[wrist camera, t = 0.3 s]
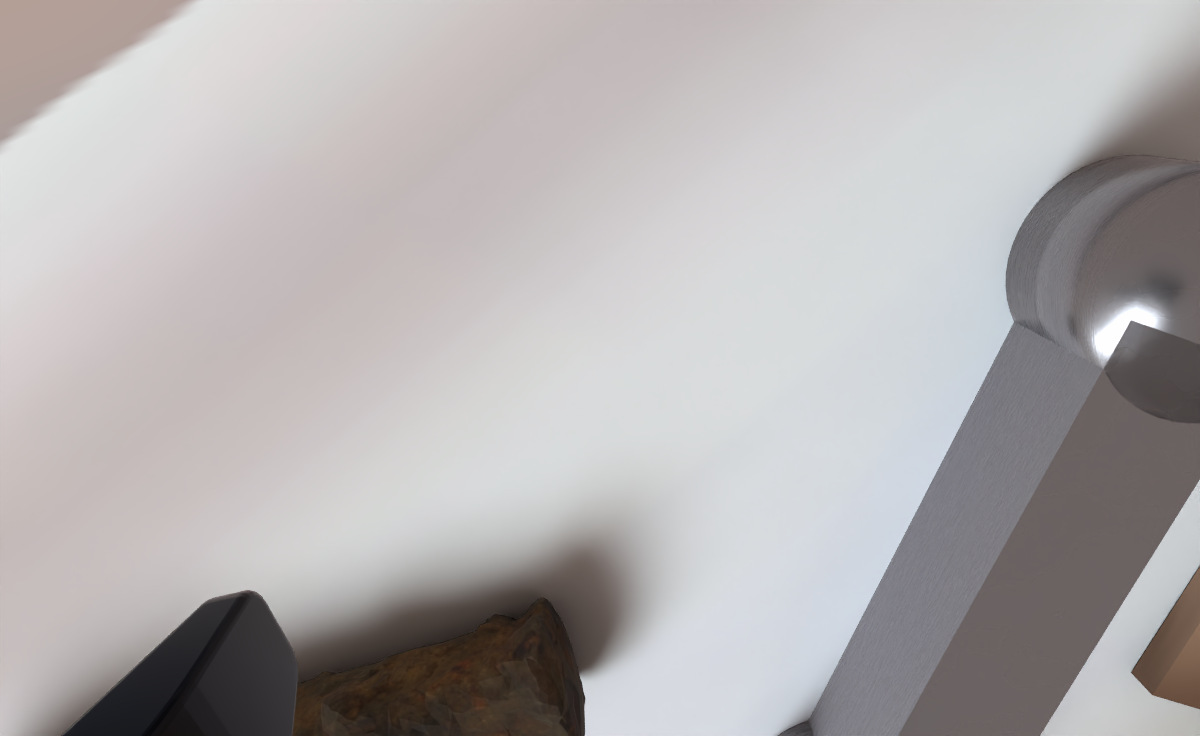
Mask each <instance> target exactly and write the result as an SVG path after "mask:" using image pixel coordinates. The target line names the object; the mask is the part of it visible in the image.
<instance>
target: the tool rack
mask: <svg viewBox="0 0 1200 736" xmlns="http://www.w3.org/2000/svg"><path fill="white" fill-rule="evenodd" d="M1131 673H1132V674H1133V675H1134V676H1135V677H1136V678H1137V679H1138V680H1139V681H1140V683H1141V684H1142V685H1143V686H1144V687H1145V688H1146V689H1147V690H1148V691H1149V692H1150V693H1151V694H1152V695H1154V696H1157V697H1161V698H1164V699H1167V700H1171V701H1174V702H1177V703H1181V704H1184V705H1188V706H1191V707H1194V708H1198V709H1200V567H1199V569H1198V570H1197V572H1196V573H1195V575H1194V576H1193V578H1192V580H1191V581H1190V583H1189V584H1188V586H1187V587H1186V589H1185V590H1184V592H1183V593H1182V595H1181V597H1180V598H1179V600H1178V601H1177V603H1176V604H1175V606H1174V607H1173V609H1172V610H1171V612H1170V614H1169V615H1168V617H1167V618H1166V620H1165V621H1164V623H1163V624H1162V626H1161V627H1160V629H1159V631H1158V632H1157V634H1156V635H1155V637H1154V638H1153V640H1152V641H1151V643H1150V644H1149V646H1148V648H1147V649H1146V651H1145V652H1144V654H1143V655H1142V657H1141V658H1140V660H1139V661H1138V663H1137V665H1136V666H1135V668H1134V669H1133V671H1132V672H1131Z"/></svg>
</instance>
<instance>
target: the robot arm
mask: <svg viewBox="0 0 1200 736" xmlns="http://www.w3.org/2000/svg"><path fill="white" fill-rule="evenodd" d="M297 682H298V666H297V661H296V657H295V654H294V651H293V649H292V647H291V645H290V643H289V642H288V640H287V638H286V636H285V635H284V633H283V631H282V629H281V628H280V626H279V624H278V622H277V621H276V619H275V617H274V615H273V614H272V612H271V610H270V608H269V607H268V605H267V603H266V602H265V600H264V599H263V597H262V596H261V595H259V594H258V593H257V592H254V591H250V590H246V591H241V592H237V593H233V594H228V595H224V596H219V597H215V598H212V599H210V600H208V601H206V602H205V603H203V604H202V605H201V606H200V607H199V608H198V609H197V610H196V611H195V612H194V613H193V614H191V615H190V616H189V617H188V618H187V619H186V620H185V621H184V622H183V623H182V624H181V625H180V626H179V627H177V628H176V629H175V630H174V631H173V632H172V633H171V634H170V635H169V636H168V637H167V638H166V639H165V640H164V641H162V642H161V643H160V644H159V645H158V646H157V647H156V648H155V649H154V650H153V651H152V652H151V653H150V654H148V655H147V656H146V657H145V658H144V659H143V660H142V661H141V662H140V663H139V664H138V665H137V666H136V667H134V668H133V669H132V670H131V671H130V672H129V673H128V674H127V675H126V676H125V677H124V678H123V679H122V680H121V681H119V682H118V683H117V684H116V685H115V686H114V687H113V688H112V689H111V690H110V691H109V692H108V693H107V694H105V695H104V696H103V697H102V698H101V699H100V700H99V701H98V702H97V703H96V704H95V705H94V706H93V707H91V708H90V709H89V710H88V711H87V712H86V713H85V714H84V715H83V716H82V717H81V718H80V719H79V720H78V721H76V722H75V723H74V724H73V725H72V726H71V727H70V728H69V729H68V730H67V731H66V732H65V733H64V734H62V735H61V736H292V735H293V724H294V714H295V703H296V693H297Z"/></svg>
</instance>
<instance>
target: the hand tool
mask: <svg viewBox="0 0 1200 736" xmlns="http://www.w3.org/2000/svg"><path fill="white" fill-rule="evenodd" d="M584 704H585V696H584V692H583V687H582V682H581V679H580V676H579V671H578V667H577V665H576V661H575V657H574V654H573V650H572V647H571V644H570V641H569V638H568V635H567V633H566V630H565V628H564V625H563V623H562V621H561V619H560V617H559V615H558V614H557V613H556V611H555V610H554V608H553V606H552V605H551V603H550V602H549V601H548V600H547V599H545V598H540V599H538V600H537V601H536V602H535V603H533V604H532V606H531V607H530V608H529V610H528V611H527V612H526V614H525V615H524V616H523V617H522V618H520V619H518V620H514V619H512V618H510V617H506V616H502V615H497V614H495V615H493V616H492V617H490V618H489V619H487V621H486V623H485V624H482V625H480V626H479V628H478V629H477V631H475V632H473V633H470V634H467V635H464V636H460V637H457V638H454V639H451V640H449V641H446V642H443V643H439V644H434V645H430V646H425V647H420V648H415V649H413V650H410V651H407V652H404V653H401V654H397V655H393V656H390V657H388V658H386V659H385V660H383V661H381V662H378V663H375V664H372V665H368V666H363V667H359V668H355V669H352V670H348V671H344V672H340V673H331V672H322V673H321V674H320V675H319V676H317V677H316V678H314V679H313V680H310V681H306V682H303V683H300V684H297V693H296V703H295V714H294V724H293V735H292V736H585V717H584Z"/></svg>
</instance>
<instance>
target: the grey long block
mask: <svg viewBox="0 0 1200 736" xmlns="http://www.w3.org/2000/svg"><path fill="white" fill-rule="evenodd" d="M1006 294H1007V301H1008V305H1009V309H1010V312H1011V315H1012V317H1013V320H1014V324H1013V325H1012V327H1011V329H1010V331H1009V333H1008V335H1007V337H1006V339H1005V341H1004V343H1003V345H1002V347H1001V349H1000V351H999V353H998V355H997V356H996V358H995V360H994V362H993V364H992V366H991V368H990V370H989V372H988V374H987V376H986V378H985V380H984V382H983V384H982V386H981V387H980V389H979V391H978V393H977V395H976V397H975V399H974V401H973V403H972V405H971V407H970V409H969V411H968V413H967V415H966V417H965V418H964V420H963V422H962V424H961V426H960V428H959V430H958V432H957V434H956V436H955V438H954V440H953V442H952V444H951V446H950V448H949V450H948V451H947V453H946V455H945V457H944V459H943V461H942V463H941V465H940V467H939V469H938V471H937V473H936V475H935V477H934V479H933V481H932V482H931V484H930V486H929V488H928V490H927V492H926V494H925V496H924V498H923V500H922V502H921V504H920V506H919V508H918V510H917V512H916V513H915V515H914V517H913V519H912V521H911V523H910V525H909V527H908V529H907V531H906V533H905V535H904V537H903V539H902V541H901V543H900V544H899V546H898V548H897V550H896V552H895V554H894V556H893V558H892V560H891V562H890V564H889V566H888V568H887V570H886V572H885V574H884V576H883V577H882V579H881V581H880V583H879V585H878V587H877V589H876V591H875V593H874V595H873V597H872V599H871V601H870V603H869V605H868V607H867V608H866V610H865V612H864V614H863V616H862V618H861V620H860V622H859V624H858V626H857V628H856V630H855V632H854V634H853V636H852V638H851V639H850V641H849V643H848V645H847V647H846V649H845V651H844V653H843V655H842V657H841V659H840V661H839V663H838V665H837V667H836V669H835V670H834V672H833V674H832V676H831V678H830V680H829V682H828V684H827V686H826V688H825V690H824V692H823V694H822V696H821V698H820V700H819V702H818V703H817V705H816V707H815V709H814V711H813V713H812V715H811V717H810V719H809V721H807V722H804V723H801V724H798V725H796V726H794V727H792V728H790V729H788V730H786V731H784V732H783V733H781V734H779V735H778V736H1040V734H1041V733H1042V731H1043V730H1044V728H1045V726H1046V725H1047V723H1048V722H1049V720H1050V718H1051V717H1052V715H1053V714H1054V712H1055V710H1056V709H1057V707H1058V706H1059V704H1060V702H1061V701H1062V699H1063V698H1064V696H1065V694H1066V693H1067V691H1068V690H1069V688H1070V686H1071V685H1072V683H1073V682H1074V680H1075V678H1076V677H1077V675H1078V674H1079V672H1080V670H1081V669H1082V667H1083V666H1084V664H1085V662H1086V661H1087V659H1088V658H1089V656H1090V654H1091V653H1092V651H1093V650H1094V648H1095V646H1096V645H1097V643H1098V641H1099V640H1100V638H1101V637H1102V635H1103V633H1104V632H1105V630H1106V629H1107V627H1108V625H1109V624H1110V622H1111V621H1112V619H1113V617H1114V616H1115V614H1116V613H1117V611H1118V609H1119V608H1120V606H1121V605H1122V603H1123V601H1124V600H1125V598H1126V597H1127V595H1128V593H1129V592H1130V590H1131V589H1132V587H1133V585H1134V584H1135V582H1136V581H1137V579H1138V577H1139V576H1140V574H1141V573H1142V571H1143V569H1144V568H1145V566H1146V565H1147V563H1148V561H1149V560H1150V558H1151V557H1152V555H1153V553H1154V552H1155V550H1156V549H1157V547H1158V545H1159V544H1160V542H1161V541H1162V539H1163V537H1164V536H1165V534H1166V533H1167V531H1168V529H1169V528H1170V526H1171V525H1172V523H1173V521H1174V520H1175V518H1176V516H1177V515H1178V513H1179V512H1180V510H1181V508H1182V507H1183V505H1184V504H1185V502H1186V500H1187V499H1188V497H1189V496H1190V494H1191V492H1192V491H1193V489H1194V488H1195V486H1196V484H1197V483H1198V481H1199V480H1200V162H1198V161H1189V160H1180V159H1171V158H1162V157H1153V156H1144V155H1127V156H1119V157H1113V158H1109V159H1105V160H1101V161H1098V162H1095V163H1093V164H1090V165H1088V166H1085V167H1083V168H1081V169H1080V170H1078V171H1076V172H1074V173H1072V174H1070V175H1069V176H1067V177H1066V178H1065V179H1063V180H1062V181H1060V182H1059V183H1057V184H1056V185H1055V186H1054V187H1053V188H1052V189H1051V190H1049V191H1048V192H1047V193H1046V194H1045V195H1044V196H1043V197H1042V198H1041V199H1040V200H1039V202H1038V203H1037V204H1036V205H1035V206H1034V207H1033V209H1032V210H1031V212H1030V213H1029V214H1028V216H1027V217H1026V219H1025V220H1024V222H1023V224H1022V226H1021V227H1020V229H1019V231H1018V233H1017V235H1016V238H1015V240H1014V242H1013V245H1012V248H1011V251H1010V255H1009V258H1008V264H1007V270H1006Z"/></svg>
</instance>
